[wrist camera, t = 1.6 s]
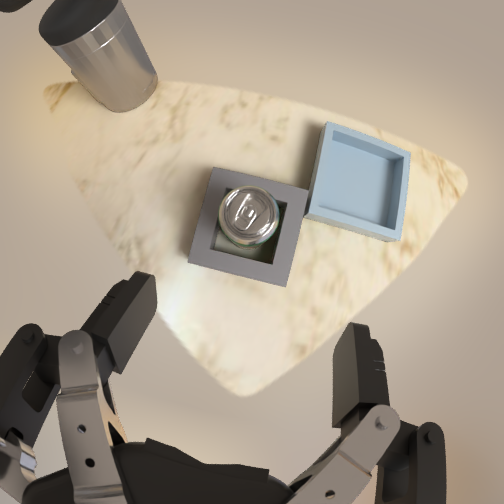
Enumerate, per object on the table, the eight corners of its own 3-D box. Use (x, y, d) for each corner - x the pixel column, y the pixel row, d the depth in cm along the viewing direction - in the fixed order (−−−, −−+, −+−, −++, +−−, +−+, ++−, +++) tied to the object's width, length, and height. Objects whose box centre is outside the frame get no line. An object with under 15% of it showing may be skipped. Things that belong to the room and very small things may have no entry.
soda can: (278, 223, 34) (293, 205, 22) (254, 258, 34) (256, 258, 22) (243, 199, 34) (241, 169, 22) (219, 233, 34) (203, 220, 22)
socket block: (193, 261, 34) (187, 262, 30) (216, 175, 34) (213, 166, 31) (282, 284, 34) (285, 287, 30) (303, 197, 34) (308, 190, 31)
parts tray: (302, 217, 34) (308, 212, 31) (320, 132, 34) (327, 121, 31) (387, 242, 34) (400, 240, 31) (398, 160, 34) (410, 152, 31)
